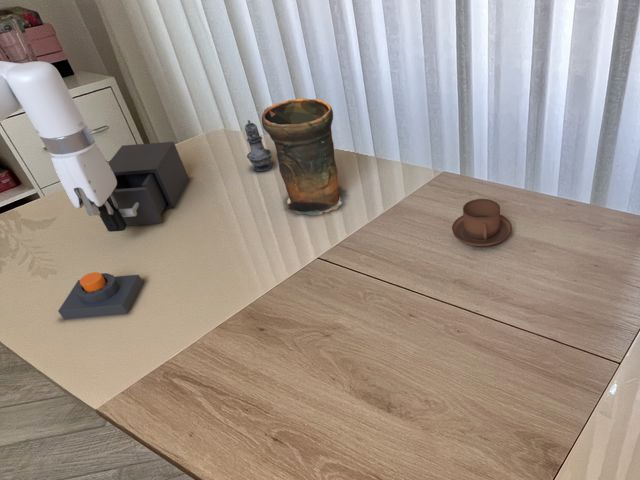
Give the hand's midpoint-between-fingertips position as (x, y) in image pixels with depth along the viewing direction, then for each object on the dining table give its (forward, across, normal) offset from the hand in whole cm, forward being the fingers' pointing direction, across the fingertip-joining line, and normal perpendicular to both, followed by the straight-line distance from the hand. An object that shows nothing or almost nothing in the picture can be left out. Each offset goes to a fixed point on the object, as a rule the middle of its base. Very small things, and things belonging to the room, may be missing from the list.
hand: (118, 228), depth 110 cm
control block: (+4, +18, +2) cm, 19 cm away
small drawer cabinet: (+4, -21, 0) cm, 21 cm away
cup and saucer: (+4, +7, +73) cm, 73 cm away
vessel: (+4, -13, +38) cm, 40 cm away
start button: (0, +18, +2) cm, 18 cm away
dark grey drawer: (+3, -11, 0) cm, 11 cm away
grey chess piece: (+4, -31, +23) cm, 39 cm away
